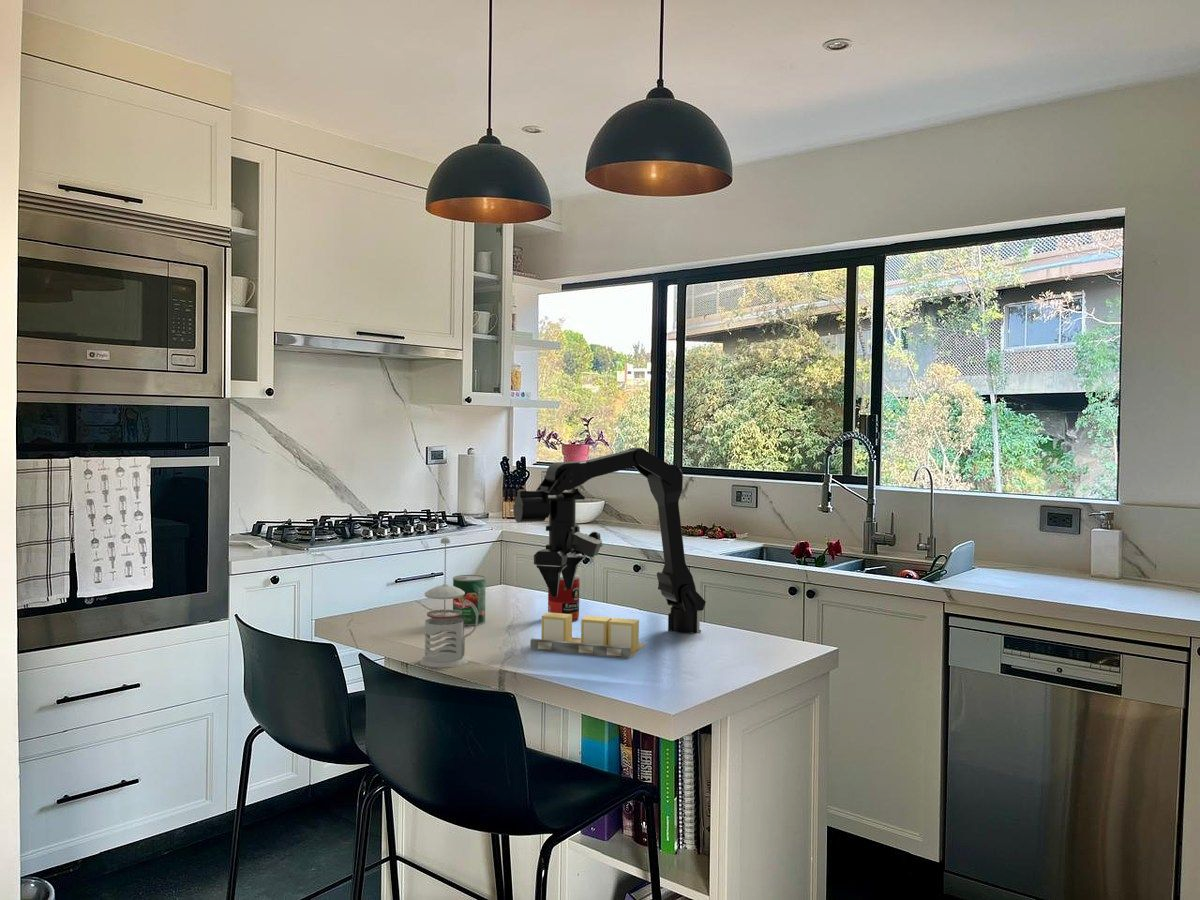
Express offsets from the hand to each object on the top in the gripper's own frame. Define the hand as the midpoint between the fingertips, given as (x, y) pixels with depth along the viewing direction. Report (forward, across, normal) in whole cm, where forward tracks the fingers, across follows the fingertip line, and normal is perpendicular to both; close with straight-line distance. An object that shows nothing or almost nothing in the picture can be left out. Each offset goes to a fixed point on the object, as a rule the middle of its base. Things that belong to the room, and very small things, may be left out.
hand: (561, 592), depth 191 cm
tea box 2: (+11, -1, -14) cm, 18 cm away
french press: (+12, -19, +17) cm, 28 cm away
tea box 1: (+11, -1, -8) cm, 14 cm away
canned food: (+12, +27, +9) cm, 31 cm away
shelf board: (+12, -2, -7) cm, 14 cm away
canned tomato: (+12, +15, +29) cm, 35 cm away
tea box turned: (+11, -1, +1) cm, 11 cm away
